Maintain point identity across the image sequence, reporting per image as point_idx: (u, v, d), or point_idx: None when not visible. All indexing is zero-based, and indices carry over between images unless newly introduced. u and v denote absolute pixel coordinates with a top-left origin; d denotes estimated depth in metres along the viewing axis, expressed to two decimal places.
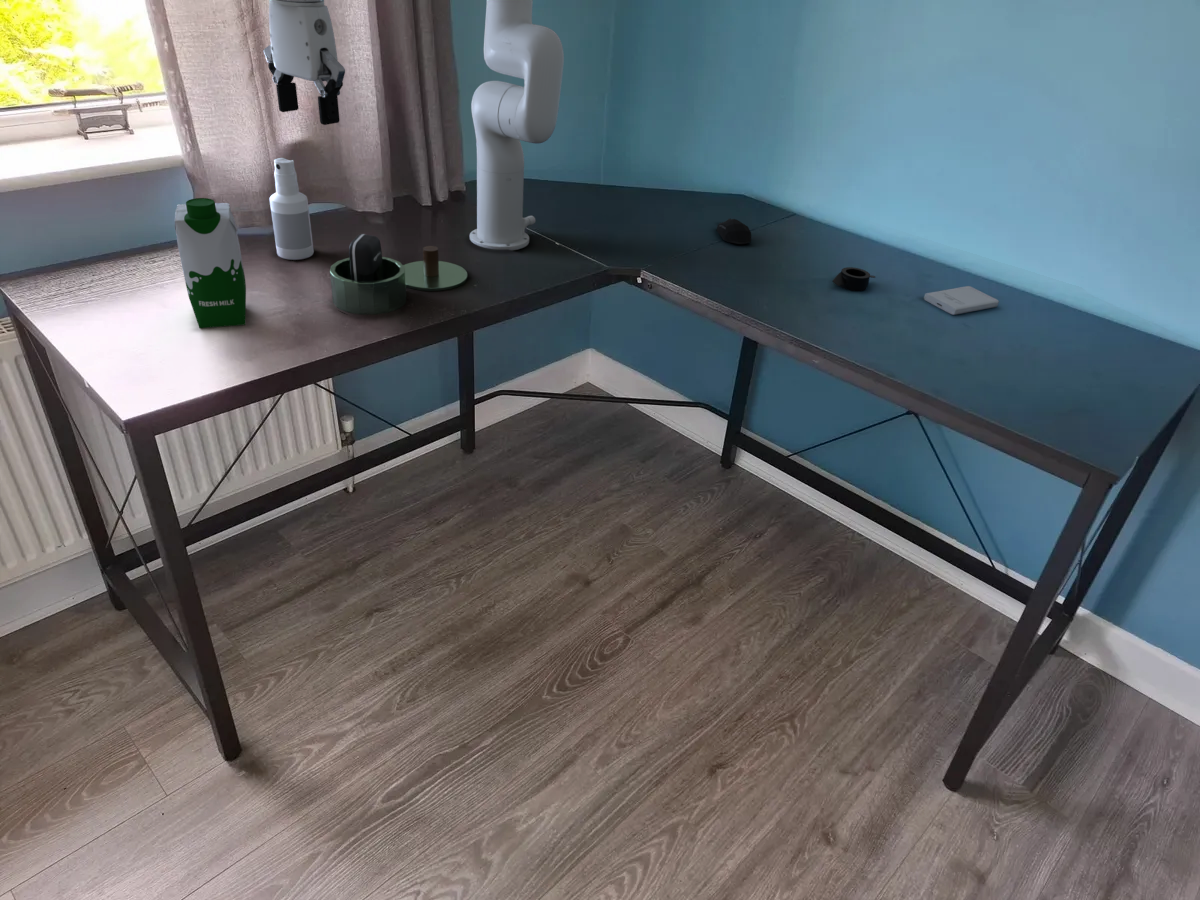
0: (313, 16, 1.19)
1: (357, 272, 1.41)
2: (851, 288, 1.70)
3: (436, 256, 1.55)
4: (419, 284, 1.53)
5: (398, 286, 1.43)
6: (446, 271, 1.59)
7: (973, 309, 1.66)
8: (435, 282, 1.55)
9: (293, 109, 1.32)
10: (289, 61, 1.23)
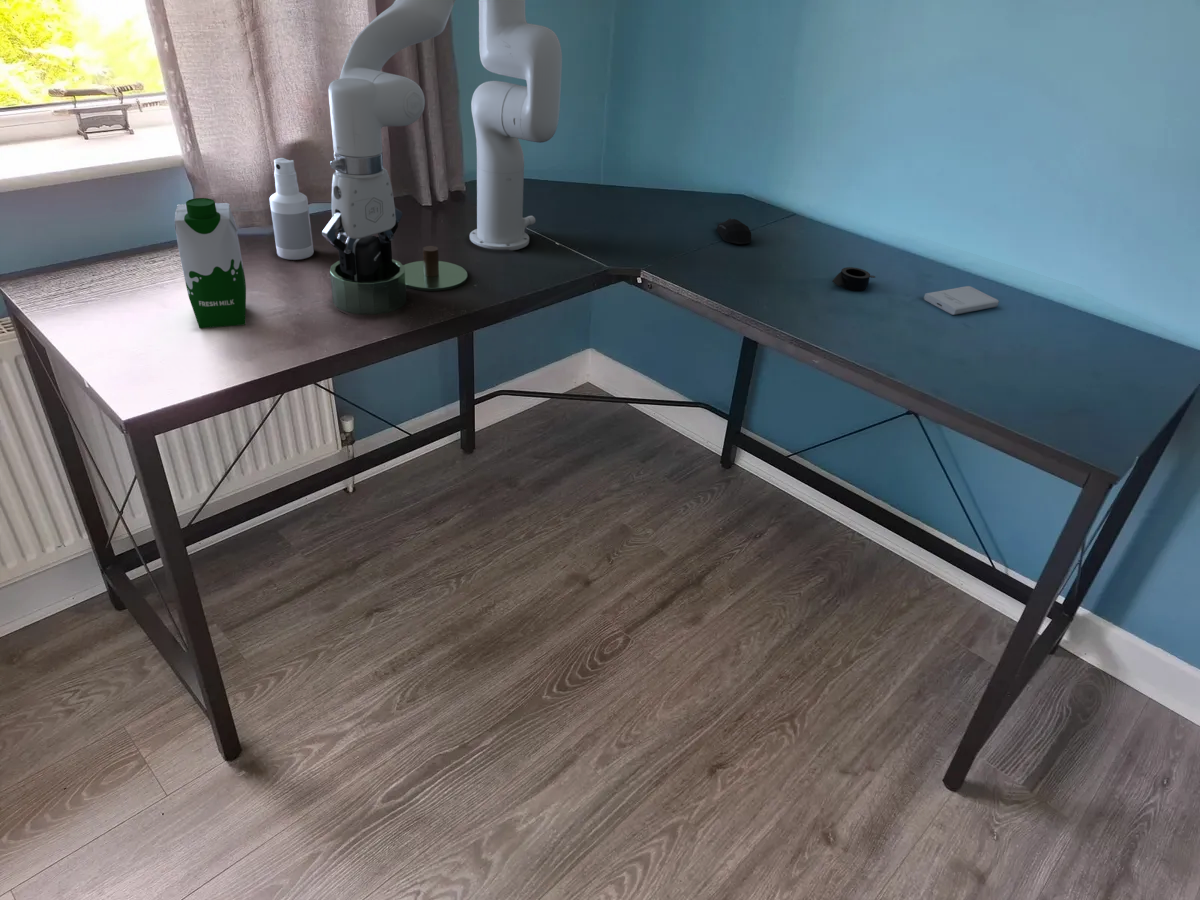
0: (334, 182, 1.33)
1: (357, 272, 1.41)
2: (851, 288, 1.70)
3: (436, 256, 1.55)
4: (419, 284, 1.53)
5: (398, 286, 1.43)
6: (446, 271, 1.59)
7: (973, 309, 1.66)
8: (435, 282, 1.55)
9: (385, 261, 1.46)
10: None
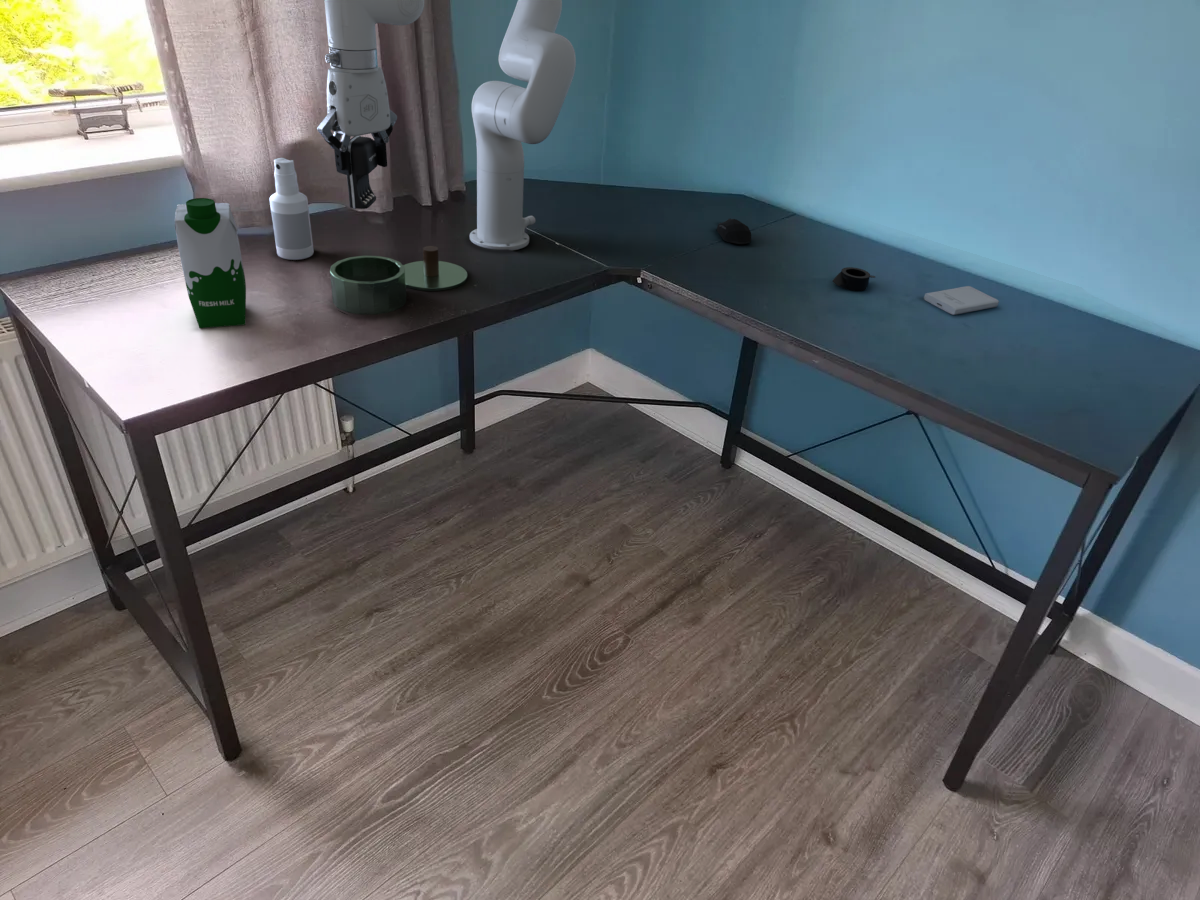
0: (329, 77, 1.35)
1: (352, 172, 1.43)
2: (851, 288, 1.70)
3: (436, 256, 1.55)
4: (419, 284, 1.53)
5: (398, 286, 1.43)
6: (446, 271, 1.59)
7: (973, 309, 1.66)
8: (435, 282, 1.55)
9: (380, 165, 1.48)
10: None
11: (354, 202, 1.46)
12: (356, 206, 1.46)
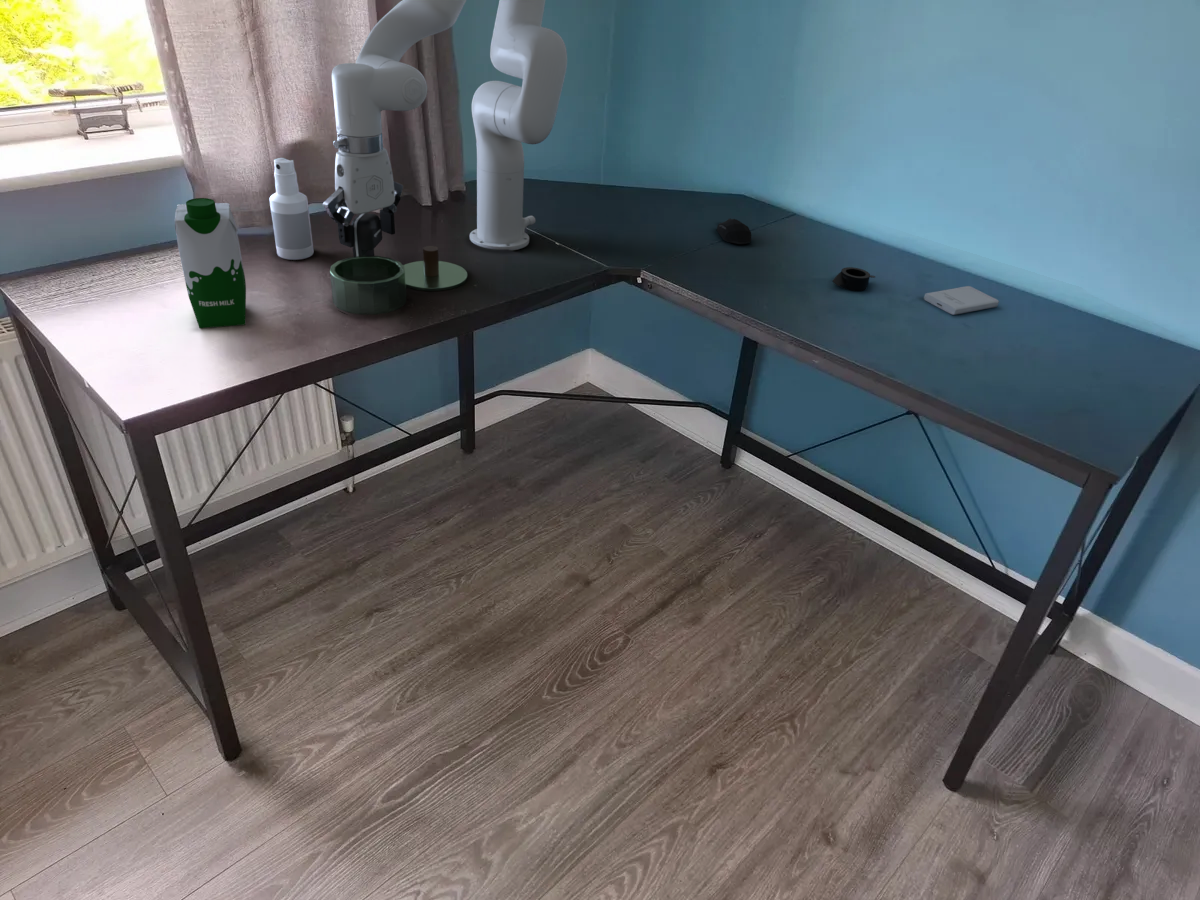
0: (337, 161, 1.43)
1: (358, 248, 1.51)
2: (851, 288, 1.70)
3: (436, 256, 1.55)
4: (419, 284, 1.53)
5: (398, 286, 1.43)
6: (446, 271, 1.59)
7: (973, 309, 1.66)
8: (435, 282, 1.55)
9: (388, 232, 1.56)
10: None
11: None
12: None
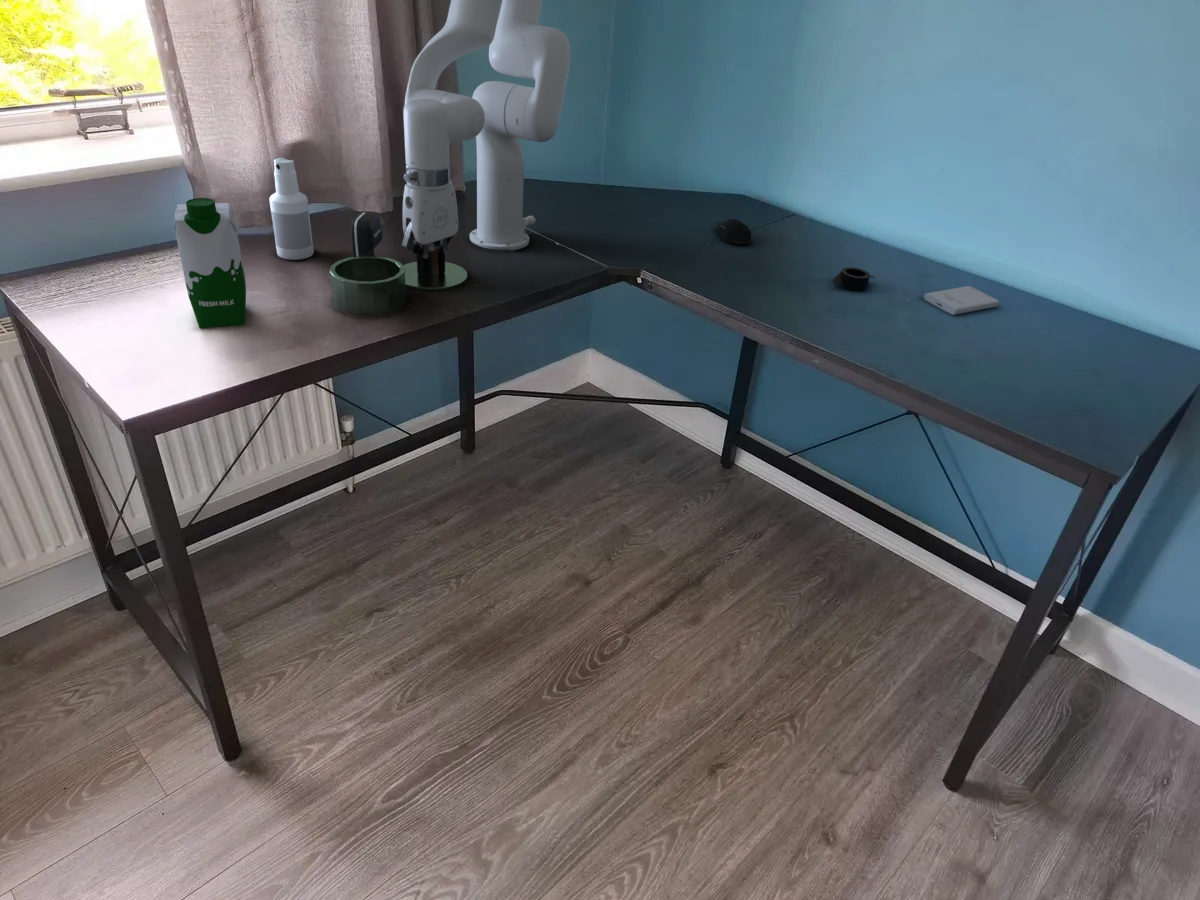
0: (406, 193, 1.46)
1: (358, 248, 1.51)
2: (851, 288, 1.70)
3: (436, 256, 1.55)
4: (419, 284, 1.53)
5: (398, 286, 1.43)
6: (446, 271, 1.59)
7: (973, 309, 1.66)
8: (435, 282, 1.55)
9: None
10: None
11: None
12: None
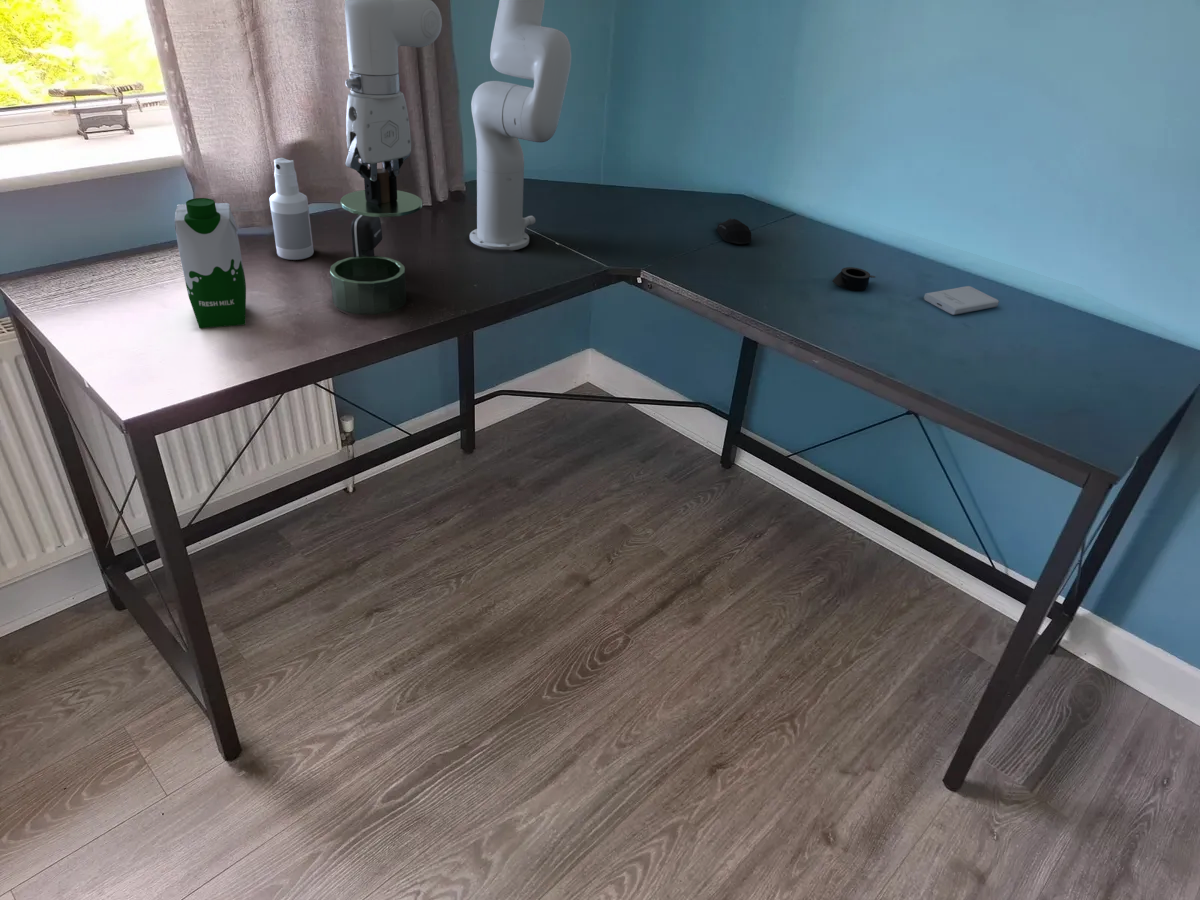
0: (349, 103, 1.30)
1: (358, 248, 1.51)
2: (851, 288, 1.70)
3: (386, 180, 1.38)
4: (366, 210, 1.36)
5: (398, 286, 1.43)
6: (399, 199, 1.43)
7: (973, 309, 1.66)
8: (385, 208, 1.38)
9: (390, 198, 1.42)
10: None
11: None
12: None
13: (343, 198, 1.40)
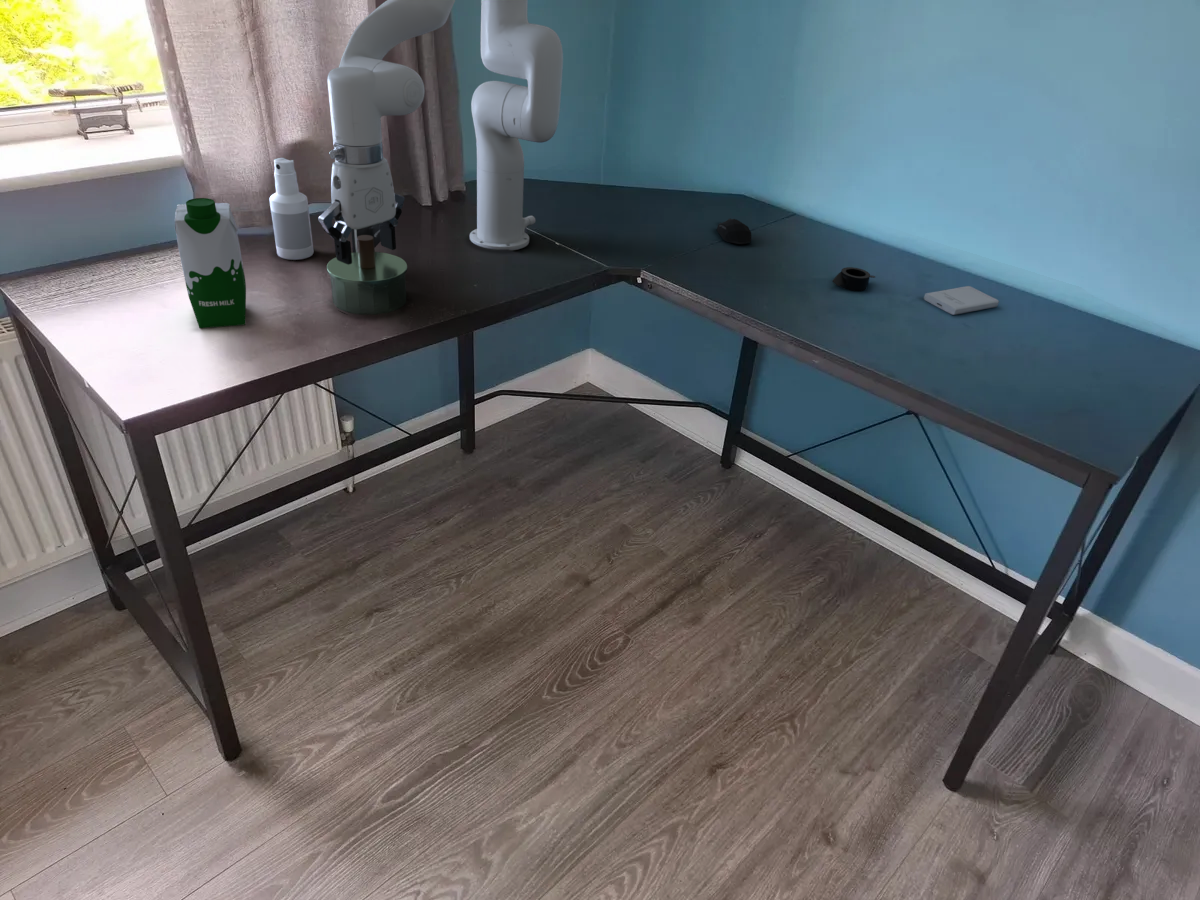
0: (334, 172, 1.32)
1: None
2: (851, 288, 1.70)
3: (371, 246, 1.41)
4: (352, 277, 1.39)
5: (398, 286, 1.43)
6: (384, 263, 1.45)
7: (973, 309, 1.66)
8: (370, 274, 1.41)
9: (389, 247, 1.46)
10: None
11: None
12: None
13: (329, 263, 1.43)
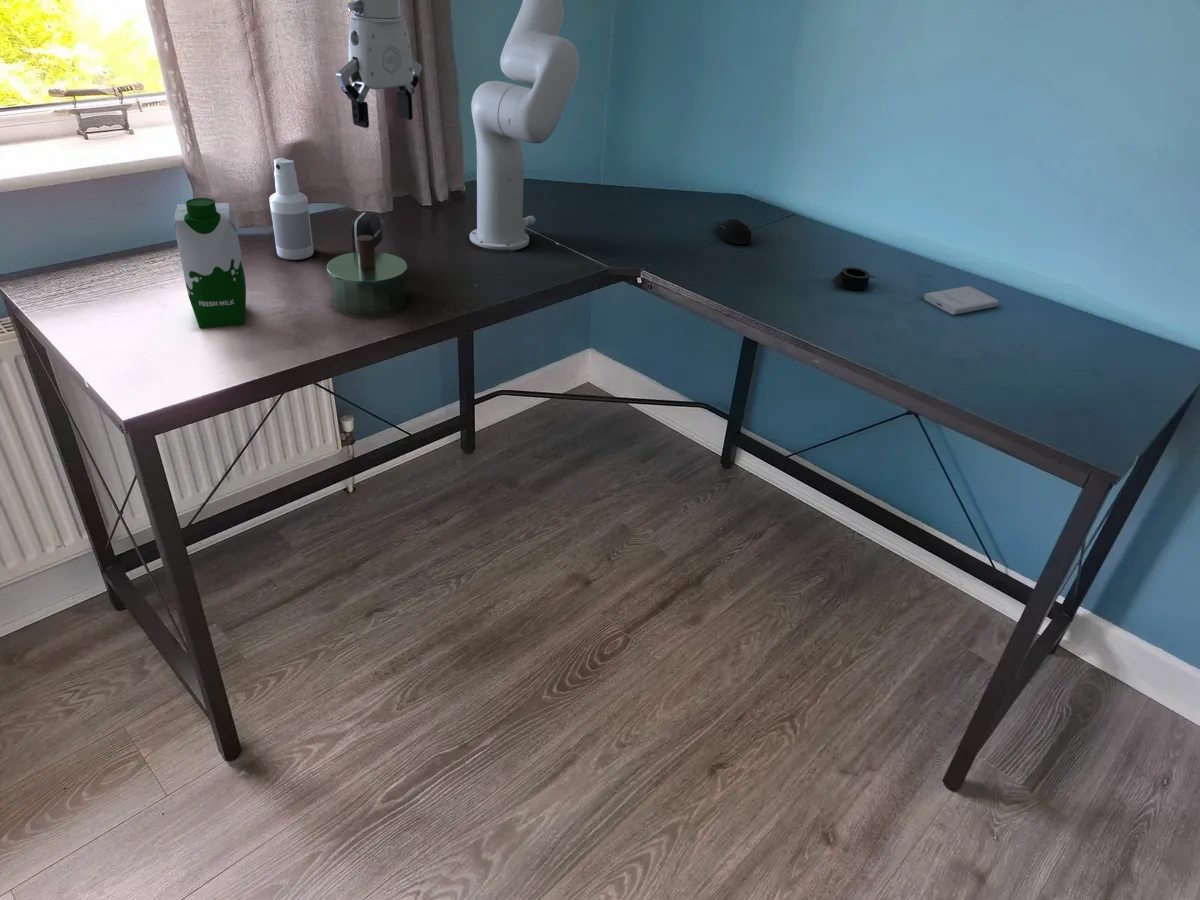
0: (351, 27, 1.31)
1: None
2: (851, 288, 1.70)
3: (371, 246, 1.41)
4: (352, 277, 1.39)
5: (398, 286, 1.43)
6: (384, 263, 1.45)
7: (973, 309, 1.66)
8: (370, 274, 1.41)
9: (405, 117, 1.44)
10: None
11: None
12: None
13: (329, 263, 1.43)
